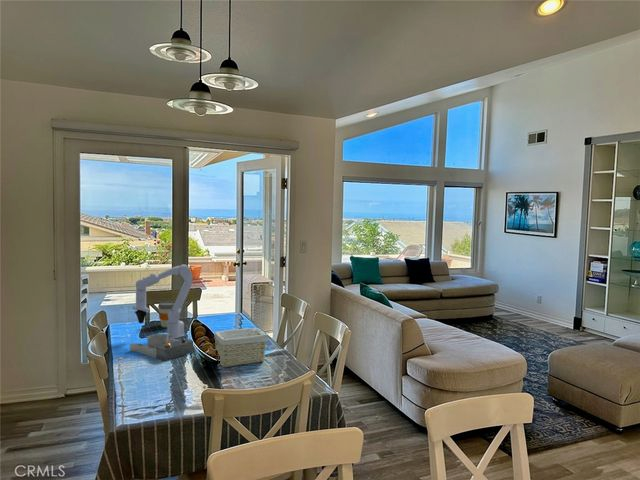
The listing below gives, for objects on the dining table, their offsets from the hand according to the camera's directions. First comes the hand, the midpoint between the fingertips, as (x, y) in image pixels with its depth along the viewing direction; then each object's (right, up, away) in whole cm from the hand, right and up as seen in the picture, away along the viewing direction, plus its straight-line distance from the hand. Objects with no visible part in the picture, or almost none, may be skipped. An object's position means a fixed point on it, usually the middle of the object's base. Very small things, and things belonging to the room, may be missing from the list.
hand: (141, 322), depth 250 cm
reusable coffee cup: (+4, -8, +32) cm, 34 cm away
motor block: (+20, -12, -19) cm, 30 cm away
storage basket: (+64, -14, -32) cm, 73 cm away
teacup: (+18, -12, -17) cm, 27 cm away
